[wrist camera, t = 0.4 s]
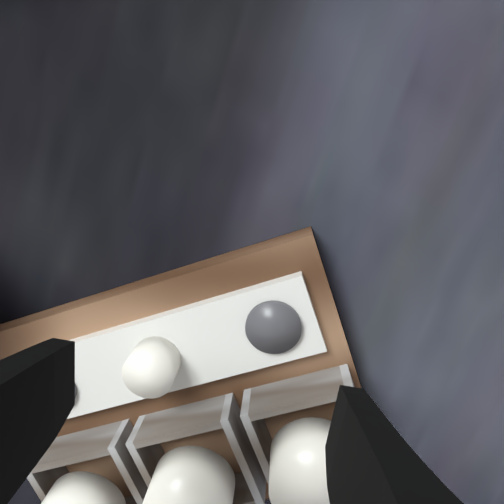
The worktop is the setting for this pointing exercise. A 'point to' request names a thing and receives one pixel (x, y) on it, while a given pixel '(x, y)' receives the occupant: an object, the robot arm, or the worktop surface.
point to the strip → (196, 344)
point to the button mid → (191, 478)
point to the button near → (299, 463)
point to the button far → (83, 490)
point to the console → (200, 396)
